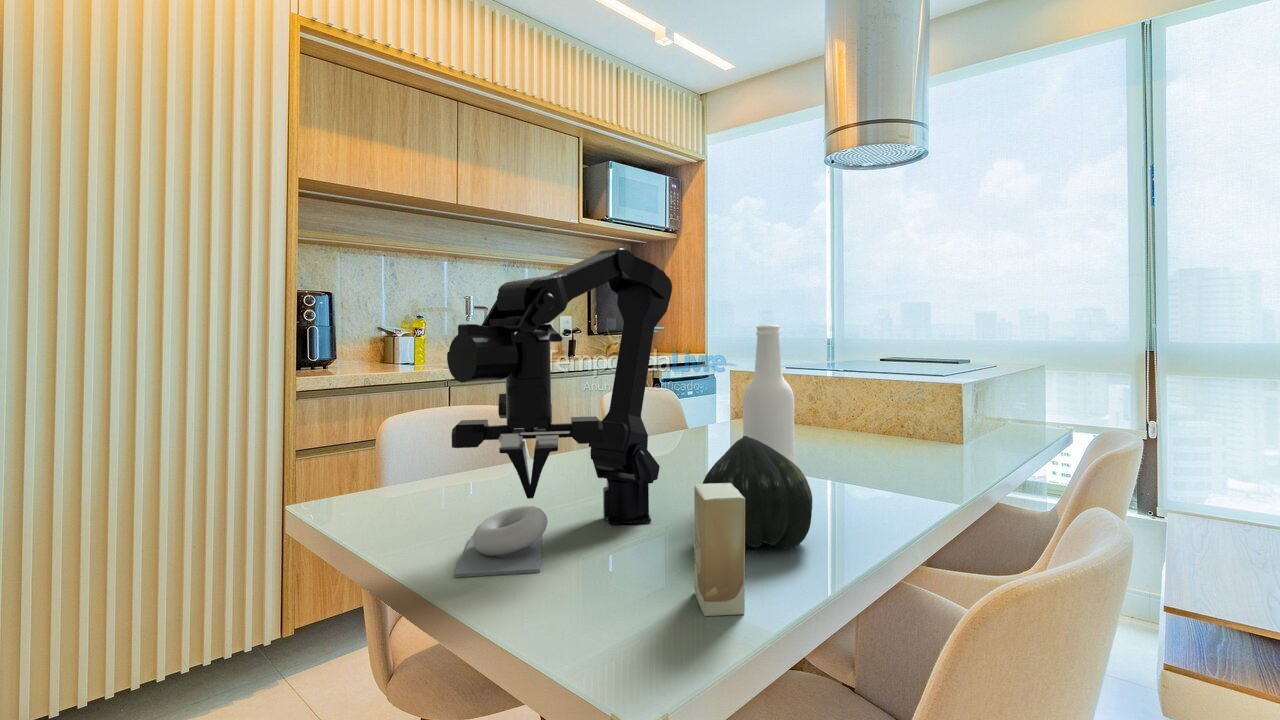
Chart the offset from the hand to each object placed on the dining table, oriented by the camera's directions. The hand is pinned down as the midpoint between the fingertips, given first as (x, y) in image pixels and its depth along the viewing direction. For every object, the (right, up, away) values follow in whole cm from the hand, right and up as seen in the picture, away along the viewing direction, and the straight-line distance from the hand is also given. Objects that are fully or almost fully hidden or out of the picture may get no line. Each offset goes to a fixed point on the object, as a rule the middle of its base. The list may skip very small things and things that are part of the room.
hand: (530, 497), depth 80 cm
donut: (+2, -4, -1) cm, 4 cm away
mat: (-4, -8, +1) cm, 9 cm away
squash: (+30, -7, +4) cm, 31 cm away
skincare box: (+23, -8, -15) cm, 28 cm away
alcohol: (+37, -6, +29) cm, 47 cm away
